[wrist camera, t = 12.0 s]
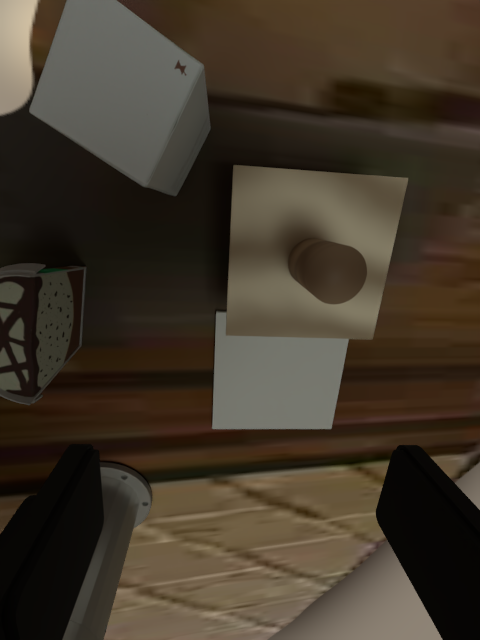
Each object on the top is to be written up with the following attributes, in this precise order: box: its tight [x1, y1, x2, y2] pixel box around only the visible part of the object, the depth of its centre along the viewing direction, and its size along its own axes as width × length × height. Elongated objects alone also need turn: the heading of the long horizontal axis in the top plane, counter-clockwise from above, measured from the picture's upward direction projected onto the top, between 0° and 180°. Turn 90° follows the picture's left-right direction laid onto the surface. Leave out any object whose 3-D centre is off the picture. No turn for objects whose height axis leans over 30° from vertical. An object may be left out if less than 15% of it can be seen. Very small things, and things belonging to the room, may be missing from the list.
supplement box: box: [29, 0, 211, 196], centre depth 22 cm, size 7×7×13 cm
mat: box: [212, 311, 349, 429], centre depth 37 cm, size 16×16×1 cm
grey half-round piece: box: [0, 263, 86, 405], centre depth 28 cm, size 12×6×10 cm, turn 167°
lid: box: [226, 165, 408, 339], centre depth 23 cm, size 14×14×7 cm
